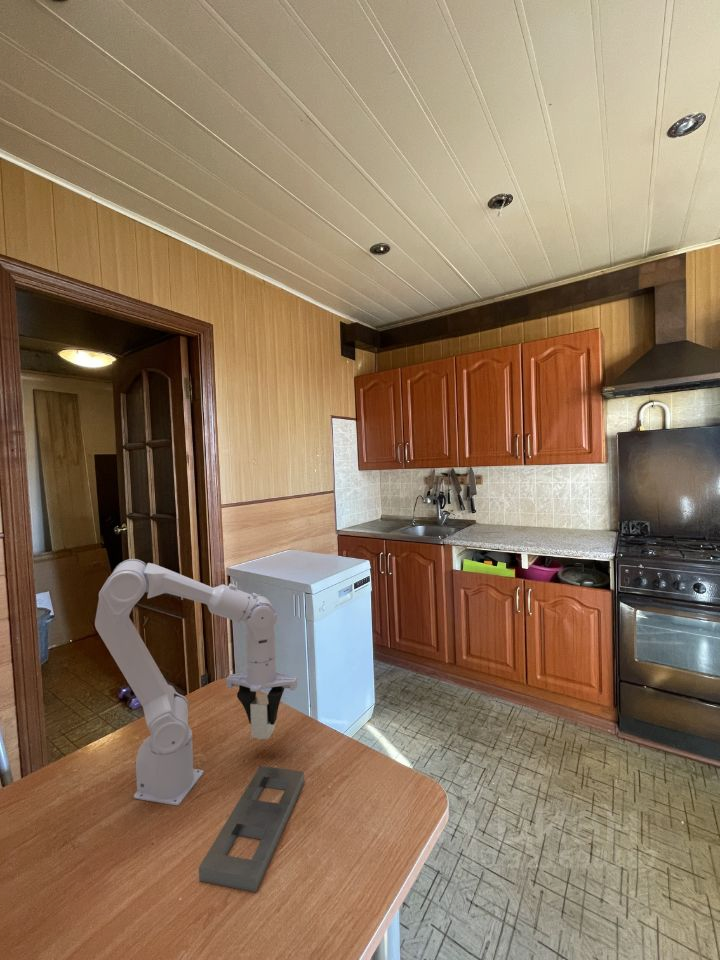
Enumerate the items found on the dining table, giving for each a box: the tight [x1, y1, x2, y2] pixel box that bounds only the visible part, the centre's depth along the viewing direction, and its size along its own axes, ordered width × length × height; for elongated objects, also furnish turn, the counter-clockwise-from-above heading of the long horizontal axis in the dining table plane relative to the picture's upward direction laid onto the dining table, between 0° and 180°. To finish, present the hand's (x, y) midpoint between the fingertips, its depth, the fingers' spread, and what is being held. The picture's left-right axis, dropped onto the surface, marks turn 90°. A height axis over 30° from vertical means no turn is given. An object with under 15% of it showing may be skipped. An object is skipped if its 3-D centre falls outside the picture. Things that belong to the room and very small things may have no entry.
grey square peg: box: [250, 693, 276, 740], centre depth 82 cm, size 4×4×7 cm
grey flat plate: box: [198, 765, 305, 893], centre depth 67 cm, size 9×20×2 cm, turn 168°
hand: (263, 721), depth 82 cm, fingers closed on grey square peg, 4 cm apart
